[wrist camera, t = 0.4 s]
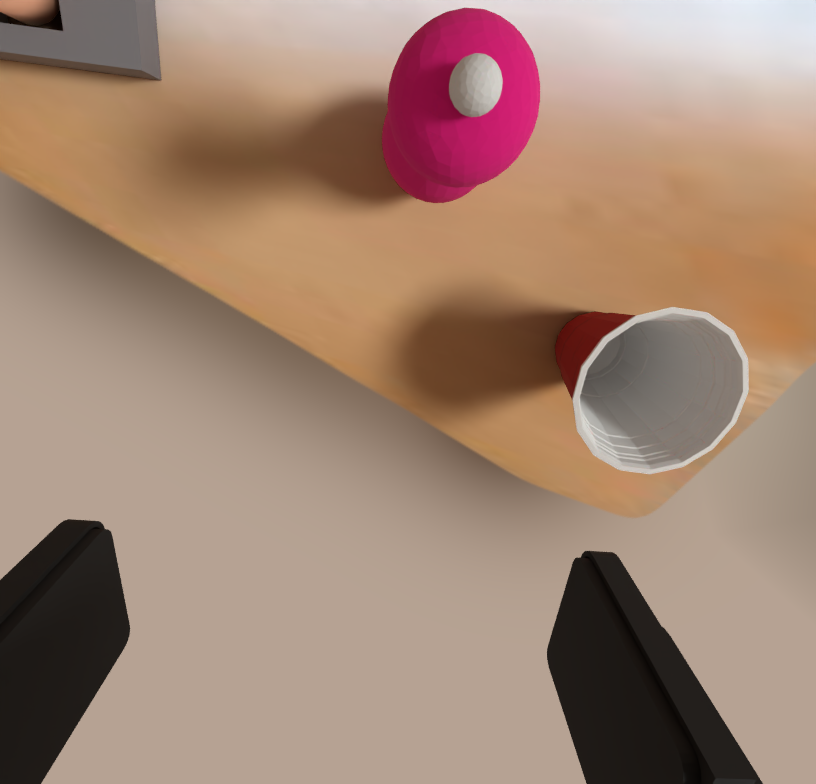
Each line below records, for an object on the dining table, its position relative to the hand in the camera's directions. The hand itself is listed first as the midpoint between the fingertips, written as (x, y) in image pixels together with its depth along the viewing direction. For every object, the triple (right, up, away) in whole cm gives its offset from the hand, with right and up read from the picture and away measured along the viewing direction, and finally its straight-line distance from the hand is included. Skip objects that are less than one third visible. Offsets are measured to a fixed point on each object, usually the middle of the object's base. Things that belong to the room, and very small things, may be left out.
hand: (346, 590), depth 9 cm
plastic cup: (+17, +8, +30) cm, 35 cm away
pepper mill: (+3, +22, +24) cm, 32 cm away
